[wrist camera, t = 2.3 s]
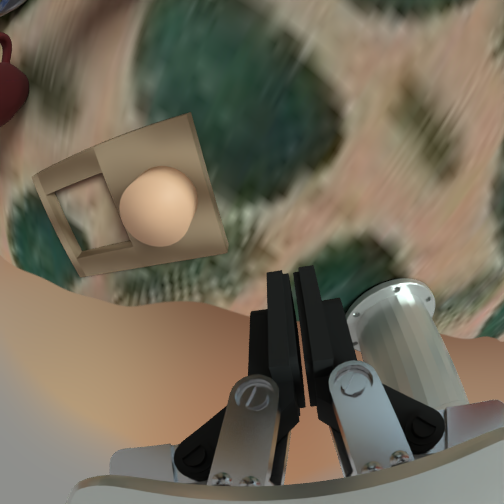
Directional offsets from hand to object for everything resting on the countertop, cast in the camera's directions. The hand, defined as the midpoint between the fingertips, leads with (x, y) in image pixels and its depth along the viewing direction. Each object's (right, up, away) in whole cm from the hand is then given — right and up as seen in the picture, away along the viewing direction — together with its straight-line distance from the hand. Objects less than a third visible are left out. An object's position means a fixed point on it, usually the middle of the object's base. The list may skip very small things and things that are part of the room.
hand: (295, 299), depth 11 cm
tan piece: (-14, +6, +16) cm, 22 cm away
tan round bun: (-9, +6, +14) cm, 18 cm away
